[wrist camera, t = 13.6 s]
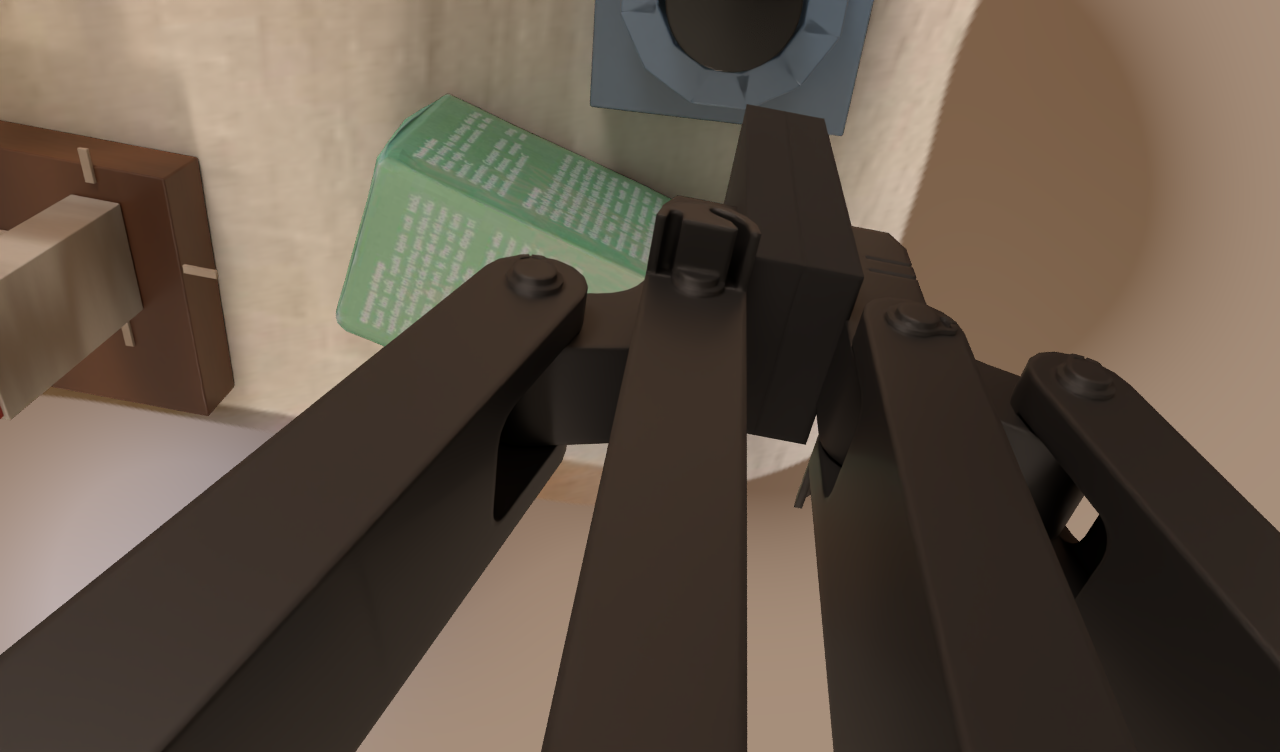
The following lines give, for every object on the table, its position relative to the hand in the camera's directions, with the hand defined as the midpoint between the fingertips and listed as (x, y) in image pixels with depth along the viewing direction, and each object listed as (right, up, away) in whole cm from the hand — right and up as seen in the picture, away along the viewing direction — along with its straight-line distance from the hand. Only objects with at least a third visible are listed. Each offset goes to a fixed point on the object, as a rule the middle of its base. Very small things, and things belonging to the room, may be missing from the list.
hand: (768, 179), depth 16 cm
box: (-6, +2, +19) cm, 20 cm away
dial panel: (-30, +2, +22) cm, 37 cm away
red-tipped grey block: (-25, +1, +18) cm, 31 cm away
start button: (0, +8, +9) cm, 12 cm away
